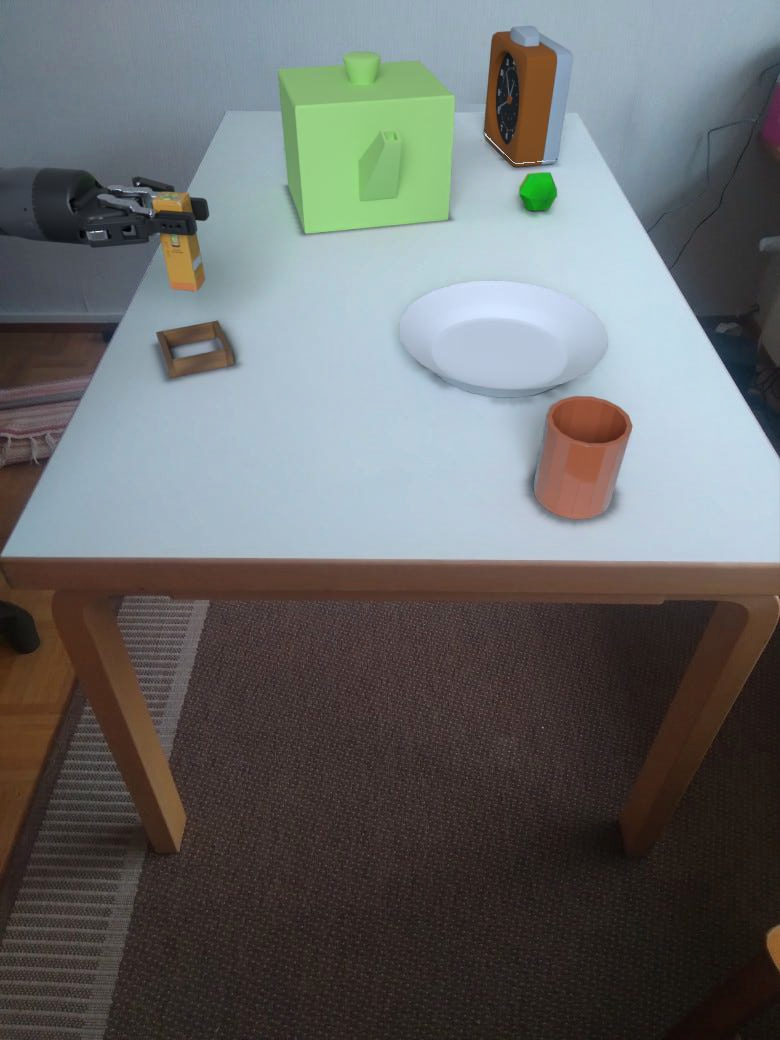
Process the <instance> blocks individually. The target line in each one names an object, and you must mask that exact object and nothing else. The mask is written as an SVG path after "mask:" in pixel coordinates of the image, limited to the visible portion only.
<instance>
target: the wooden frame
mask: <svg viewBox="0 0 780 1040" xmlns="http://www.w3.org/2000/svg"><path fill="white" fill-rule="evenodd" d="M155 334H156V338H157V342H158V344H159V345H158V346H159V349H160V351H161V355H162V358H163V361H164V364H165V368H166V371H167V373H168V377H169V379H173V378H178V377H183V376H188V375H193V374H197V373H203V372H207V371H211V370H212V371H213V370H217V369H222V368H226V367H230V366H234V365H235V362H234V361H235V360H234V355H233V350H232V348H231V345H230V343H229V341H228V339H227V337H226V335H225V332H224V331H223V328H222V326H221V324H220V322H219V320H218V319H217V320H212V321H207V322H202V323H197V324H190V325H187V326H182V327H175V328H170V329H166V330H165V329H164V330H160V331H156V332H155ZM212 339H216V342H217V344H218V346H219V349H217V350H212V351H208V352H207V351H206V352H203V353H198V354H193V355H187V356H183V357H178V358H172V355H171V352H170V348H171V347H177V346H181V345H187V344H192V343H197V342H203V341H207V340H212Z"/></svg>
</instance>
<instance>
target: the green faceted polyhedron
mask: <svg viewBox="0 0 780 1040" xmlns="http://www.w3.org/2000/svg"><path fill="white" fill-rule="evenodd" d="M518 194H519V197H520V199H521V201H522V204H523V206H524V209H525V210H526V211H543V210H549V209H550V207H551V206H552V204H553V203H554V202H555V200H556V198H557V197H558V189H557V186H556V183H555V181H554V178H553V176H552V173H551V172H550V171H549V172H548V171H545V172H543V171H541V172H539V171H538V172H531V173H529V172H528V173H527V174H526V176H525V177H524V179H523V180H522V182H521V184H520V185H519V186H518Z"/></svg>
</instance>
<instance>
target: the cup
mask: <svg viewBox="0 0 780 1040" xmlns="http://www.w3.org/2000/svg"><path fill="white" fill-rule="evenodd" d="M632 429H633V423H632V421H631V418H630V415H629V414H628V413H627V412H625V410H624V409H623V408H621V407H620V406H619V405H617V404H615V403H614V402H611V401H609V400H607V399H603V398H599V397H595V396H590V395H584V396H583V395H574V396H569V397H565V398H561V399H559V400H557V401H556V402H554V403H553V404H551V405H550V406H549V408H548V411H547V413H546V416H545V421H544V427H543V432H542V437H541V443H540V448H539V454H538V459H537V462H536V463H537V465H536V470H535V474H534V481H533V493H534V496H535V498H536V500H537V502H538V503H539V504H540V505H541V506H542V507H543V508H544V509H545V510H547V511H549V512H550V513H553V514H554V515H557V516H560V517H562V518H565V519H566V518H567V519H573V520H574V519H575V520H583V519H584V520H586V519H591V518H594V517H597V516H599V515H601V514H602V513H604V512H605V511H606V510H607V509H608V507H609V506H610V505H611V504H610V503H611V501H612V497H613V495H614V491H615V487H616V484H617V480H618V477H619V474H620V471H621V467H622V464H623V460H624V457H625V453H626V450H627V447H628V443H629V440H630V437H631V434H632Z"/></svg>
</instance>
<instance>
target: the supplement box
mask: <svg viewBox="0 0 780 1040" xmlns="http://www.w3.org/2000/svg"><path fill="white" fill-rule="evenodd" d="M190 197H191V196H190V193H189V192H180V191H175V192H161V193H160V194H159V195H157V196H156V197H155V198H154V199H153V202H152V204H153V209H155V210H157V214H158V212H159V211H160V210H168V211H181V212H191V213H193V212H192V206H191V201H190ZM159 239H160V244H161V249H162V255H163V257H164V258H163V259H164V263H165V267H166V273H167V278H168V282H169V285H170V286H169V287H170V289H171V290H172V291H187V292H195V293H196V292H197V293H198V291H199V290H200V289H201V288H202V286H203V285H204V283H205V282H206V275H205V269H204V264H203V259H202V254H201V248H200V243H199V238H198V231H197V232H196V233H195V234H194V235H193V236H189V235H176V234H164V233H162V234H161V235H160V236H159Z"/></svg>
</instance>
